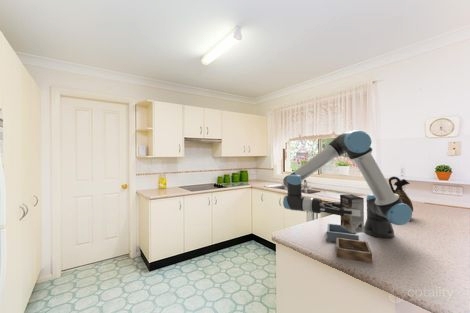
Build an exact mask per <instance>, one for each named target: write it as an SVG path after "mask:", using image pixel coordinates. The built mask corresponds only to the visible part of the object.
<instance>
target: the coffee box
mask: <svg viewBox="0 0 470 313" xmlns="http://www.w3.org/2000/svg"><path fill="white" fill-rule="evenodd" d="M339 197H340V198H339V202H340V208H341V209H344V208H345V209H354V210H360V212H361V216H360V217H359V216H351V215H344V216H340V225H341V227H342V228H344V229H346V230H347V231H349V232H351V233H358V234H359V233H365V232H364V225H365V212H364V211H365V206H364V205H365V204H364V202H365V201H364V197H361V196H358V195H356V194H355V195H354V194H351V193H350V194H348V193H347V194H345V193H344V194H340V195H339Z"/></svg>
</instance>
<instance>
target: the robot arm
mask: <svg viewBox="0 0 470 313" xmlns="http://www.w3.org/2000/svg"><path fill="white" fill-rule="evenodd" d="M372 153H373V147H372V138H371V136H370V135H369V134H368V133H367V132H366V131H363V130H357V129H355V130H351V131H347V132H343V133H341V134H339V135H338V136H336V137H335V138H334V139H333V140H332V141H330V142H329V143H328V144H327V145H326V147H325V148H324V149H323V150H321V151H319V153H317V154H316V155H314V156H313V157H312V158H311V159H308V161H307V162H305V163H304V164H302V165H301V166H300V167H298V168H297V169H296V170H294V171H293V172H292V173H290V174H287V175H286V176H284V178H283V180H282V182H283V185H284V187H285V188H287V195H285V196H284V197H283V201H282V205H283V208H284V209H286V210H291V211H295V212H296V211H299V212H306V214H308V213H314V214H321V213H327V214H331V215H336V216H340V217H341V216H344V215H351V216H359V217H360V216H361V212H360V210H354V209H345V208H344V209H341V208H340V201H325V202H323V201H322V199H321V198H317V197H316V198H315V197H314V198H313V197H307V196H302V192H303V191H302V182H303V181H305V180H306V179H308V178H309V177H310V176H311V175H313V174H314V173H316V172H317V171H318V170H320V169H321V168H322V167H324V166H326V164H328V163H329V162H331V161H332V160H333V159H335V158H339V157H341V156H342V155H344V154H346V155H347V157H348V158H349V160H350V161H353V162H354V163H355V164H356V166H357V168H358V170H359V172H360V173H361V175H362V177H363V178H364V180H365V182H366V184H367V186H368V187H369V189H370V191H371V192H372V194H367V195H366V199H365V200H366V220H365V222H364V232H363V233H366V235H370V236H372V237H376V238H384V239H385V238H388V239H389V238H394V237H395V230H394V227H393V225H396V226H403V225H406V224H408V223H409V222H410V221H411V219H412V217H413V212H412V210H411V208H410V207H409V206H408V205H407V204H404V203H403V202H402V200H401V199H400V197H399V195H398V194H395V193H393V191H392V190H391V188H390V185H389V182H388V181H387V179H386V178H385V176H384V174H383V172H382V171H381V169H380V167H379V165H378V164H377V162H376V160H375V158H374V157H373V154H372Z"/></svg>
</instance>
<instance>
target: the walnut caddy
mask: <svg viewBox="0 0 470 313" xmlns="http://www.w3.org/2000/svg"><path fill="white" fill-rule="evenodd" d="M335 243H336V258H340V259H344V260H345V259H347V260H353V261H359V262H363V261H364V262H365V263H369V262H370V263H371V264H372V263H373V252H372V249H371V247H370V244H369V241H365V240H359V241H358V240H350V239H343V238H336V242H335Z"/></svg>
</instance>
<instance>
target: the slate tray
mask: <svg viewBox="0 0 470 313" xmlns="http://www.w3.org/2000/svg"><path fill="white" fill-rule="evenodd" d="M326 228H327V230H326V236H327V237H326V241H327V242H334V243H336V238H343V239H350V240H358V241H360V240H359V233H351V232H349V231H347V230H346V229H344V228H342V227H341V224H337V223H327V227H326Z"/></svg>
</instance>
